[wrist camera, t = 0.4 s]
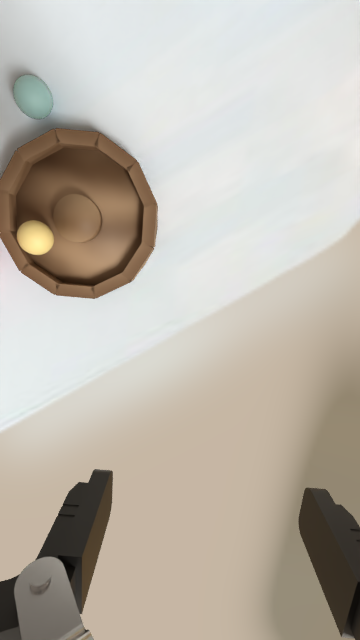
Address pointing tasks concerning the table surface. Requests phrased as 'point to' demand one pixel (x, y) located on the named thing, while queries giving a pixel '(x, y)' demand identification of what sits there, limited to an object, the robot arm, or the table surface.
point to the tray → (79, 212)
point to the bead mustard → (35, 237)
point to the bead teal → (33, 96)
